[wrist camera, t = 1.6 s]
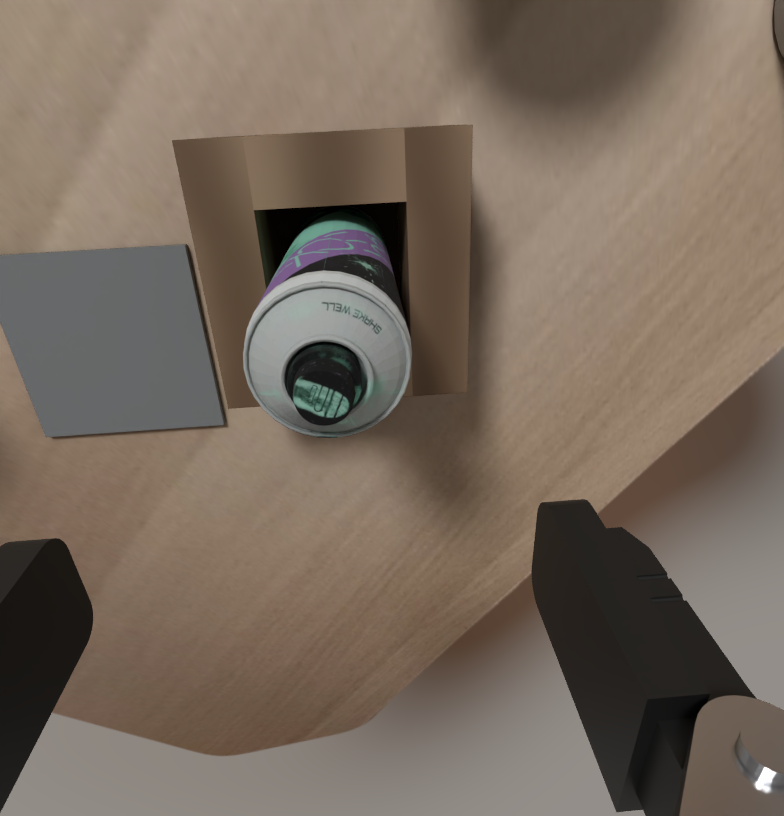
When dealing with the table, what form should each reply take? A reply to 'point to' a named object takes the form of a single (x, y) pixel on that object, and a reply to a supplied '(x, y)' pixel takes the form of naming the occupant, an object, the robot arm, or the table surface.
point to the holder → (330, 186)
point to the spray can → (330, 330)
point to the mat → (110, 339)
